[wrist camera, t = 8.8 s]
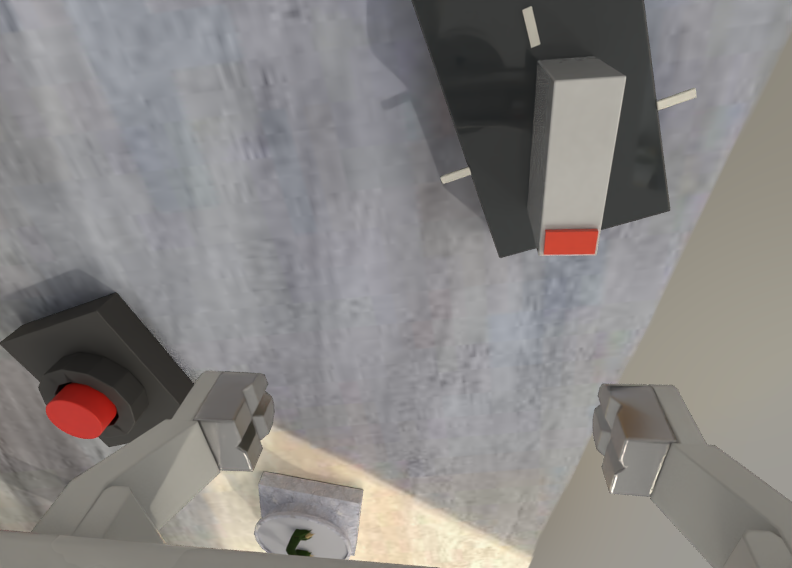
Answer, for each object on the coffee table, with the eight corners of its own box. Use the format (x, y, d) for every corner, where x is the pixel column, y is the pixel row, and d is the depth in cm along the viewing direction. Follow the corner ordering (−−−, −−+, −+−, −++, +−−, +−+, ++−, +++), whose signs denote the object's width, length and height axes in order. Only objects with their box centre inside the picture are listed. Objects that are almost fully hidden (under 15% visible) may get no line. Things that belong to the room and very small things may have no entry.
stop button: (52, 387, 34) (33, 406, 32) (91, 377, 32) (73, 395, 31) (90, 424, 36) (73, 442, 34) (128, 415, 34) (113, 434, 33)
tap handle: (537, 59, 19) (555, 82, 15) (595, 55, 18) (629, 77, 14) (526, 209, 22) (539, 259, 18) (575, 208, 22) (598, 259, 18)
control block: (22, 324, 36) (-24, 360, 32) (116, 292, 33) (76, 327, 29) (124, 426, 41) (94, 465, 38) (213, 407, 38) (189, 448, 35)
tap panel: (375, -32, 20) (361, -34, 18) (640, -170, 17) (671, -198, 14) (475, 244, 27) (476, 273, 24) (680, 184, 24) (706, 210, 21)
